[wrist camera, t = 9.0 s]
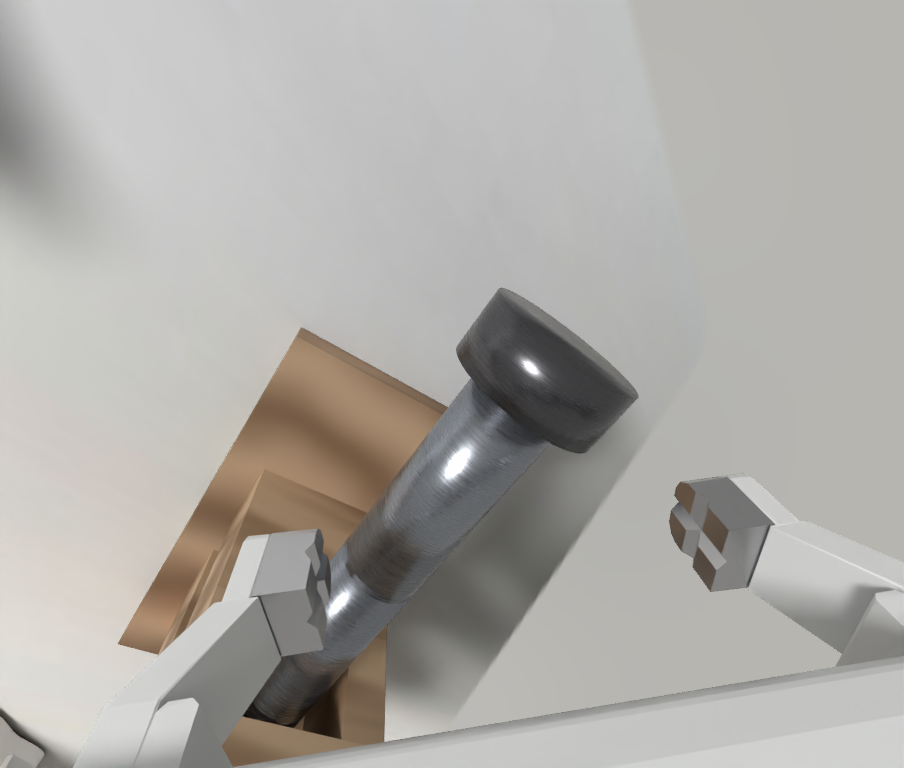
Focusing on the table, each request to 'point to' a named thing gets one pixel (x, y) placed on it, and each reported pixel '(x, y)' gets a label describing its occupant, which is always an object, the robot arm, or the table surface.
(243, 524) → the threaded rod press
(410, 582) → the shaft
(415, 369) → the table surface
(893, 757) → the robot arm
